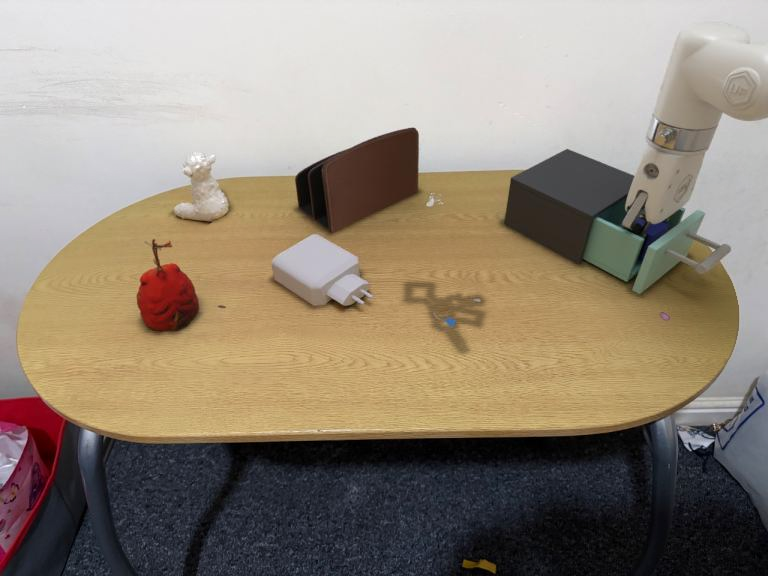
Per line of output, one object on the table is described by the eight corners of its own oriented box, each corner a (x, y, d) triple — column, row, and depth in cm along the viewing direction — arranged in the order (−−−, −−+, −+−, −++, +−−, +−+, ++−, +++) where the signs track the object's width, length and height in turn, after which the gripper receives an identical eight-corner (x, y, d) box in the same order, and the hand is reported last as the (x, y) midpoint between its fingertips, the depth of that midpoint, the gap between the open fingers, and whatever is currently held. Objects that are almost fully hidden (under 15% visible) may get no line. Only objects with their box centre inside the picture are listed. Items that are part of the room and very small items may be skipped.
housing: (630, 232, 88) (647, 180, 82) (577, 269, 81) (592, 216, 75) (556, 197, 97) (567, 148, 90) (503, 228, 90) (510, 177, 83)
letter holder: (419, 196, 98) (421, 122, 89) (331, 238, 89) (323, 161, 79) (384, 176, 104) (382, 105, 95) (298, 213, 95) (287, 139, 85)
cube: (632, 236, 82) (641, 212, 79) (660, 249, 80) (669, 224, 77) (616, 248, 80) (624, 223, 77) (644, 261, 77) (653, 236, 75)
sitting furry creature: (218, 194, 100) (202, 133, 92) (247, 209, 96) (233, 147, 88) (174, 216, 95) (153, 153, 87) (202, 233, 91) (183, 169, 83)
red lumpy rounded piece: (189, 295, 79) (158, 208, 69) (212, 319, 75) (184, 230, 65) (139, 320, 75) (99, 231, 65) (161, 347, 71) (122, 257, 61)
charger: (345, 331, 72) (275, 283, 80) (390, 296, 77) (320, 255, 85) (342, 305, 69) (270, 259, 77) (390, 271, 74) (317, 231, 82)
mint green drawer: (724, 273, 78) (747, 229, 73) (678, 315, 72) (699, 270, 67) (608, 219, 89) (620, 177, 84) (559, 251, 83) (569, 208, 78)
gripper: (674, 163, 62) (631, 284, 73) (740, 121, 70) (691, 236, 81) (616, 142, 66) (583, 259, 78) (684, 105, 74) (645, 216, 86)
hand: (639, 246), depth 79 cm, fingers closed on cube, 4 cm apart
